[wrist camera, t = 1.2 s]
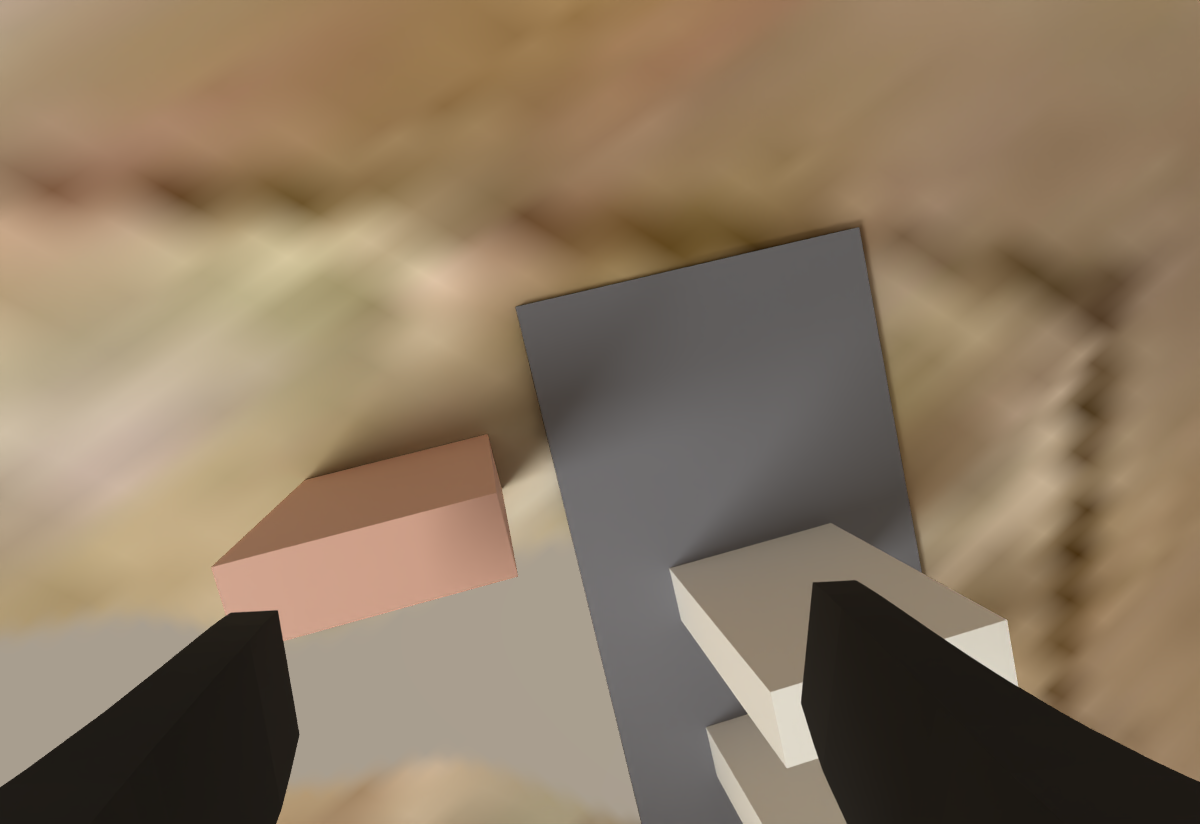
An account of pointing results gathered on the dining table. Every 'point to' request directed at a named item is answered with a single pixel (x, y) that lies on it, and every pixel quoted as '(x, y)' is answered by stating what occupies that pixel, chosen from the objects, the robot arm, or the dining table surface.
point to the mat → (709, 466)
